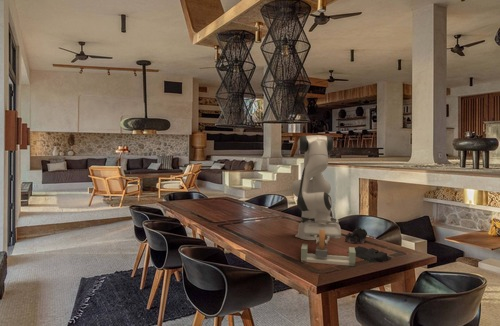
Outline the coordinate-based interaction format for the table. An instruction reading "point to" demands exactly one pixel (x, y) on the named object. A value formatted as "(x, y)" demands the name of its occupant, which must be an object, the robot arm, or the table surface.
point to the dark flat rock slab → (371, 254)
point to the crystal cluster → (356, 236)
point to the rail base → (327, 261)
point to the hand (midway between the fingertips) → (321, 243)
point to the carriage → (321, 245)
